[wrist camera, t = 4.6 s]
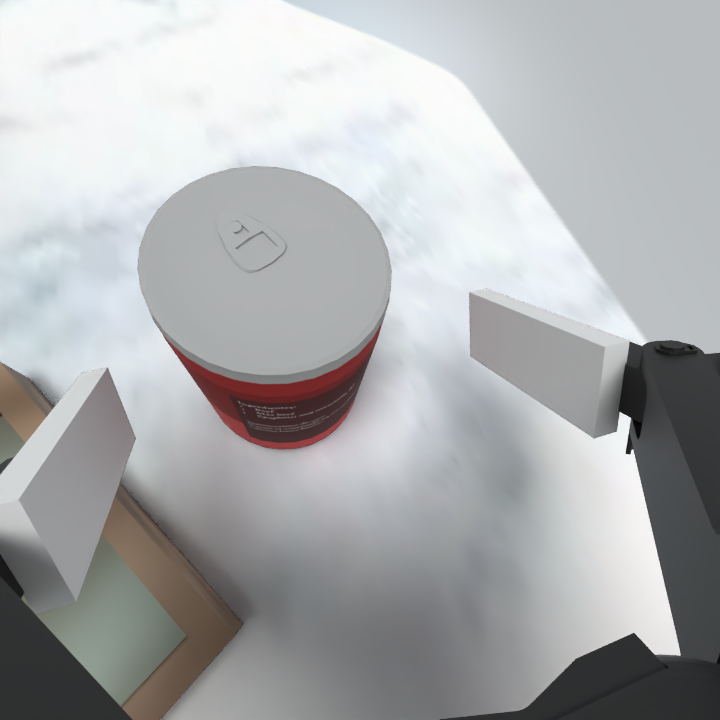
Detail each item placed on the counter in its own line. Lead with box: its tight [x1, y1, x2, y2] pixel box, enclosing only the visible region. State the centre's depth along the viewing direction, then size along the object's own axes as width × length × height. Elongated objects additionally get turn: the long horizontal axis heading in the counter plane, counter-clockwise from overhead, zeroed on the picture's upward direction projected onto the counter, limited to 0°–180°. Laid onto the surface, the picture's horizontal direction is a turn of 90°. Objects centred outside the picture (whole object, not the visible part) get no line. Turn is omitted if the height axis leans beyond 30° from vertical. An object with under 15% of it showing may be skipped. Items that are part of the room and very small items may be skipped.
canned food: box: [138, 166, 392, 449], centre depth 18 cm, size 8×8×11 cm
